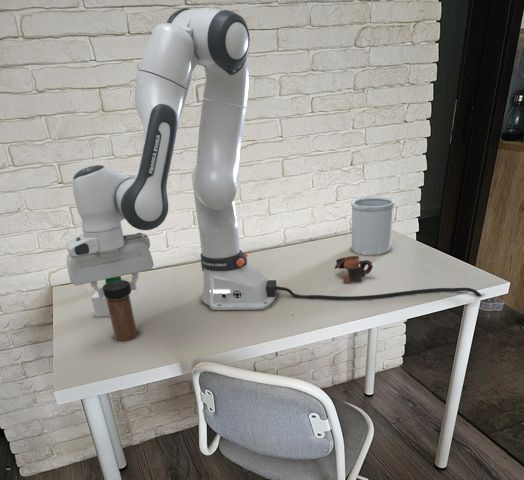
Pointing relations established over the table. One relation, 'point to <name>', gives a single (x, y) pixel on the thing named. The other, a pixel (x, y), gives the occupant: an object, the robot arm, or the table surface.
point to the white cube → (100, 305)
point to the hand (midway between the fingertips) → (117, 292)
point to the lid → (117, 289)
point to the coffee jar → (122, 318)
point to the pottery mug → (353, 268)
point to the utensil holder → (372, 224)
